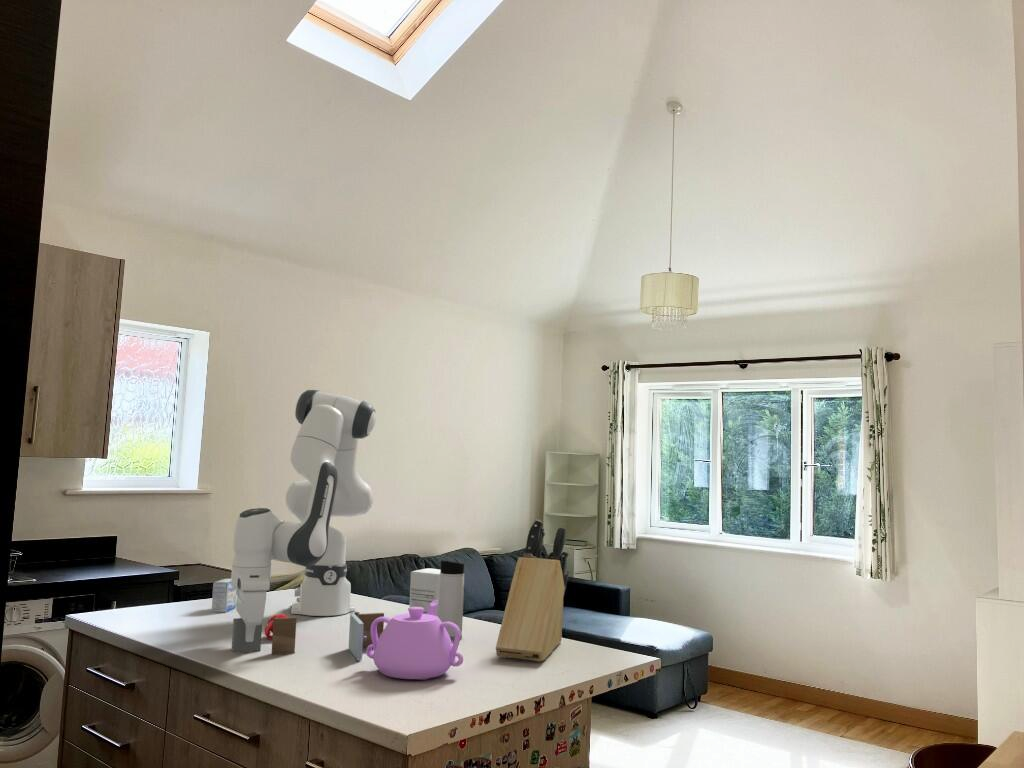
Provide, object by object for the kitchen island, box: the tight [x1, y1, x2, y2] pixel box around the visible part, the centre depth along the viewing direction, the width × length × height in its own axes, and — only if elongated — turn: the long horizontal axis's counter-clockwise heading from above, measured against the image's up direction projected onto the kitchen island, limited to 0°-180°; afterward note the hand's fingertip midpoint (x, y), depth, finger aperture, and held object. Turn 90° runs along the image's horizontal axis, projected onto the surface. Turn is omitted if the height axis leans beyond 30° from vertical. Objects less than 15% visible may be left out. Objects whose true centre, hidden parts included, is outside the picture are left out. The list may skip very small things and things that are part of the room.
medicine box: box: [211, 578, 237, 614], centre depth 235 cm, size 8×4×9 cm, turn 179°
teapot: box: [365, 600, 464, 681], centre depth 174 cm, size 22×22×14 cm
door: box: [348, 612, 367, 661], centre depth 186 cm, size 13×2×8 cm, turn 21°
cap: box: [264, 613, 288, 640], centre depth 201 cm, size 8×6×6 cm
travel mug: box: [438, 559, 465, 642], centre depth 207 cm, size 6×7×20 cm
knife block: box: [495, 519, 570, 663], centre depth 201 cm, size 11×35×31 cm, turn 165°
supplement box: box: [408, 567, 441, 617], centre depth 224 cm, size 9×9×15 cm
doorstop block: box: [231, 617, 263, 654], centre depth 187 cm, size 4×6×7 cm, turn 115°
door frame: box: [271, 611, 385, 656], centre depth 189 cm, size 1×26×8 cm, turn 115°
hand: (247, 638), depth 187 cm, fingers open, 6 cm apart
